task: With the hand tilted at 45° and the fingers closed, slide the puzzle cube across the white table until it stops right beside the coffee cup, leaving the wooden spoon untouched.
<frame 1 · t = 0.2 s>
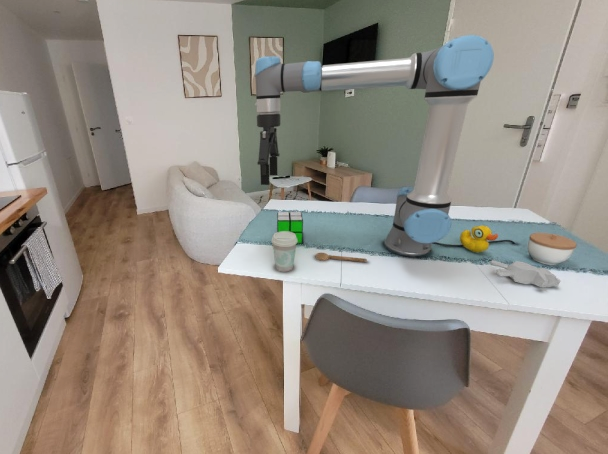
hand: (269, 179, 100), 28 cm above the table, tool pointing down, fingers open, 13 cm apart
puzzle cube: (289, 238, 121), on the table
bunny figurine: (520, 280, 87), on the table
trinket box: (544, 260, 96), on the table
coffee cup: (284, 267, 100), on the table
wooden spoon: (339, 259, 103), on the table
duckling: (473, 251, 104), on the table
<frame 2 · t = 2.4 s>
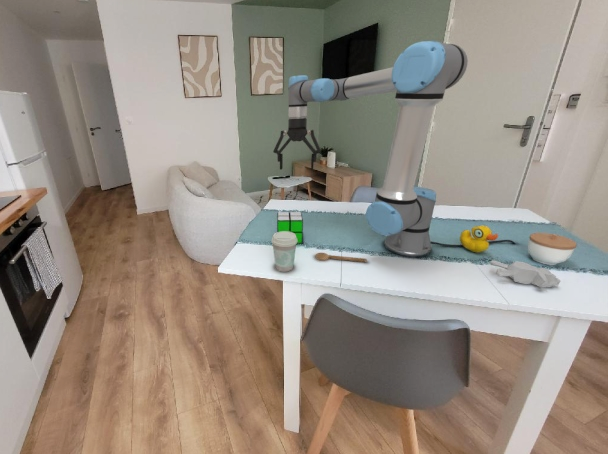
hand: (296, 169, 128), 25 cm above the table, tool pointing down, fingers open, 13 cm apart
nothing on the table moved.
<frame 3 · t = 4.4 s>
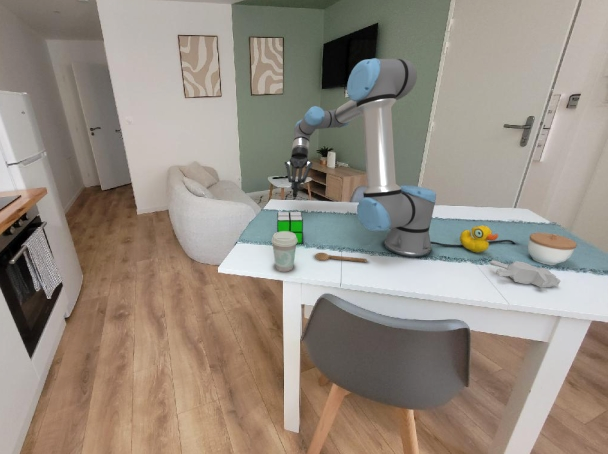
hand: (294, 195, 127), 14 cm above the table, tool tilted 45°, fingers closed
nothing on the table moved.
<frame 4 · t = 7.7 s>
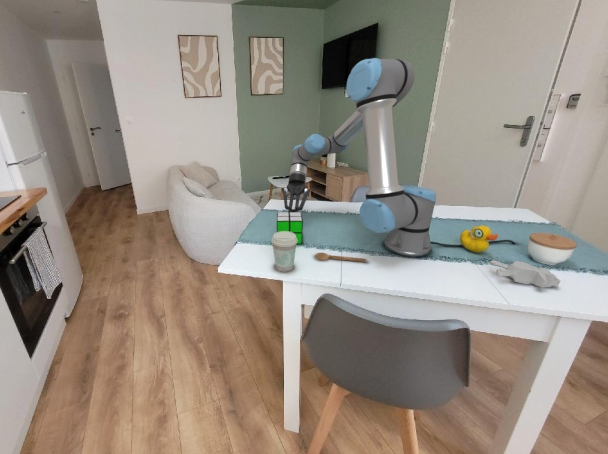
hand: (291, 224, 124), 4 cm above the table, tool tilted 45°, fingers closed
puzzle cube: (289, 239, 120), on the table, touching gripper
everything else where it was.
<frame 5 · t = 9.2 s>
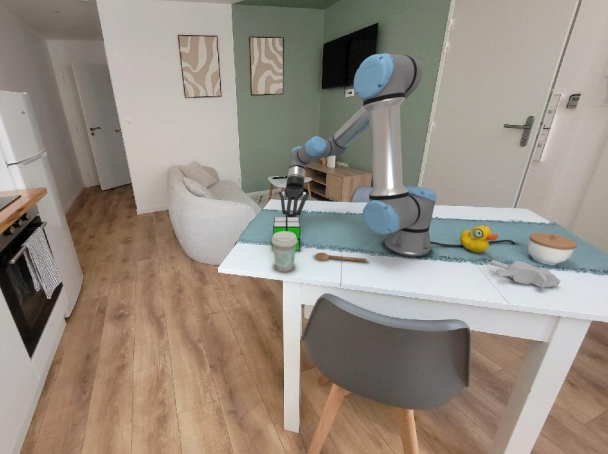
hand: (288, 229, 119), 4 cm above the table, tool tilted 45°, fingers closed
puzzle cube: (286, 245, 115), on the table, touching gripper
everything else where it was.
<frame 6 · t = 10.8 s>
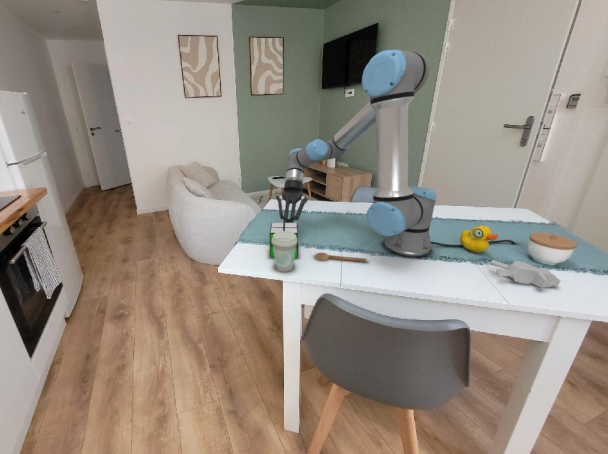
hand: (286, 235, 114), 4 cm above the table, tool tilted 45°, fingers closed
puzzle cube: (283, 252, 110), on the table, touching gripper
everything else where it was.
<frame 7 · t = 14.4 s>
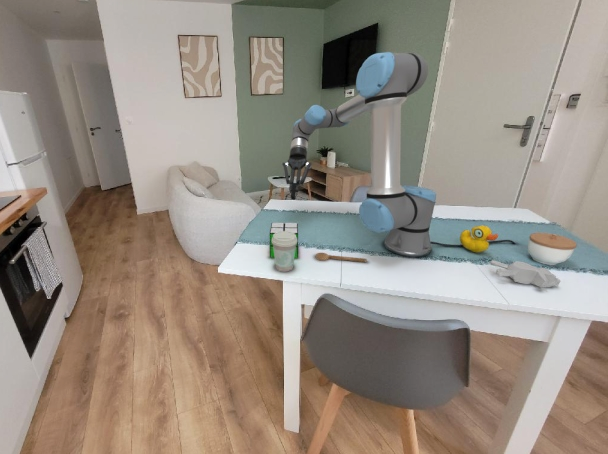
hand: (292, 197, 121), 15 cm above the table, tool tilted 45°, fingers closed
puzzle cube: (284, 252, 110), on the table
everything else where it was.
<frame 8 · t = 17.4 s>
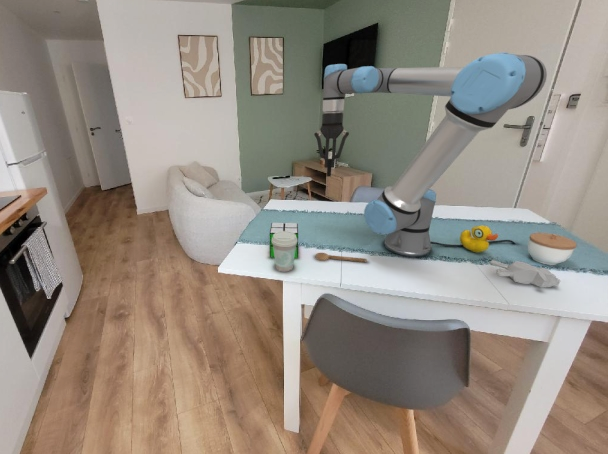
hand: (328, 175, 116), 24 cm above the table, tool pointing down, fingers closed
nothing on the table moved.
at the end: puzzle cube 11.3 cm from the coffee cup (horizontally); puzzle cube tilted 0°; coffee cup moved 0.2 cm from its start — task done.
